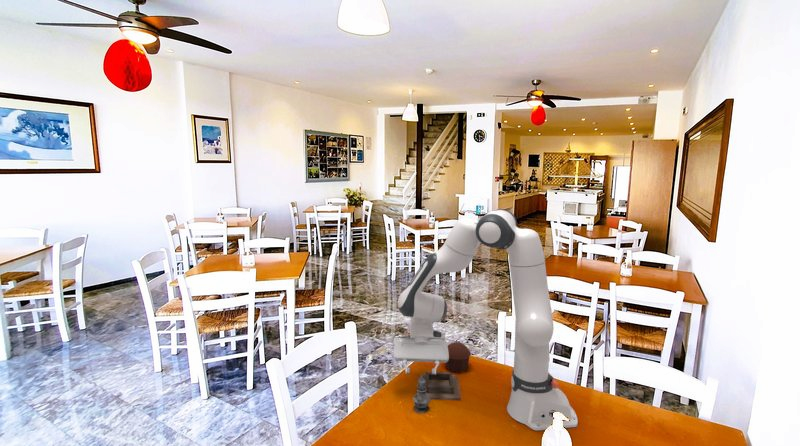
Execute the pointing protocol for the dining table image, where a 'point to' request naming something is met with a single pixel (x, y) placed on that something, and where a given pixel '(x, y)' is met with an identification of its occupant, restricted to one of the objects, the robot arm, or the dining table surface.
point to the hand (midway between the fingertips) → (420, 373)
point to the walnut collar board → (442, 386)
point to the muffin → (458, 357)
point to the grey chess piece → (421, 397)
